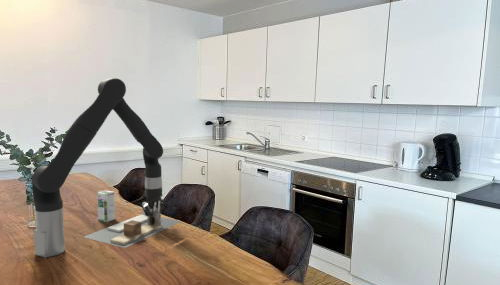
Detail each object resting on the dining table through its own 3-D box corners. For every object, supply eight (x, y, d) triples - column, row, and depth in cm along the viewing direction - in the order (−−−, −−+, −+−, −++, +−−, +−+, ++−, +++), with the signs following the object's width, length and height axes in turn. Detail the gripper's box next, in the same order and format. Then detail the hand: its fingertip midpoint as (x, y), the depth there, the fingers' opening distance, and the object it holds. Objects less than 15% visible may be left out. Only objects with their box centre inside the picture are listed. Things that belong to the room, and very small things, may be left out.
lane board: (125, 249, 145) (125, 247, 145) (82, 238, 156) (82, 236, 156) (181, 223, 177) (181, 221, 177) (142, 215, 188) (142, 213, 188)
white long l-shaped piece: (119, 232, 161) (118, 216, 161) (107, 229, 164) (107, 214, 164) (156, 217, 183) (155, 203, 182) (145, 215, 186) (144, 201, 185)
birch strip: (123, 245, 148) (122, 228, 147) (110, 241, 151) (109, 225, 150) (162, 227, 169) (162, 212, 168) (150, 224, 172) (150, 209, 171)
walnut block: (132, 237, 154) (132, 225, 153) (124, 234, 156) (123, 223, 155) (141, 233, 158) (141, 221, 158) (132, 231, 160) (132, 220, 160)
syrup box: (97, 221, 177) (96, 192, 176) (107, 218, 182) (106, 189, 181) (105, 223, 175) (104, 193, 173) (115, 220, 180) (114, 191, 178)
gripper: (149, 190, 159) (150, 229, 161) (170, 184, 171) (170, 220, 173) (136, 188, 162) (137, 226, 164) (157, 182, 175) (157, 217, 177)
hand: (154, 223), depth 169 cm, fingers closed on birch strip, 2 cm apart
